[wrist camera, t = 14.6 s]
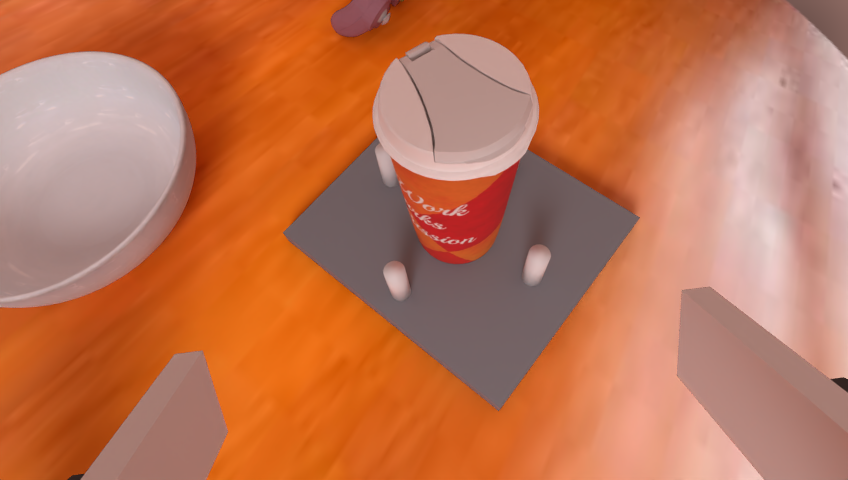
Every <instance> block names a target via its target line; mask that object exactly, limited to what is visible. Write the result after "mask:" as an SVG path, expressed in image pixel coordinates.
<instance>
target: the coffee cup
mask: <svg viewBox="0 0 848 480" xmlns="http://www.w3.org/2000/svg"><path fill="white" fill-rule="evenodd" d="M538 119H539V104H538V98H537V95H536V92H535V89H534V87H533V85H532V83H531V81H530V78H529V75H528V73H527V71H526V69H525V68H524V66H523V64H522V63H521V62H520V61H519V59H518V58H517V57H516V56H515V55H514V54H513V53H512V52H510V51H509V50H508V49H507V48H505V47H503V46H502V45H500V44H499V43H496V42H494V41H492V40H490V39H487V38H483V37H480V36H475V35H469V34H446V35H440V36H436V37H435V41H432V42H430V43H427V42H424V43H422V44H420V45H419V46H417V47H415V48H413V49H411V50H409V51H408V52H406V56H404V57H403V58H401V59H399V60H398V59H397V58H396V59H395V60H394V61H393V62H392V63H391V65H390V66H389V68H388V69H387V71H386V72H385V74H384V76H383V79H382V81H381V84H380V88H379V90H378V92H377V95H376V97H375V101H374V106H373V123H374V129H375V132H376V135H377V137H378V140H379V142H380V143H381V145H382V146H383V148H384V150H385V151H386V152H387V153H388V154H389V155H390V157H391V160H392V163H393V166H394V169H395V172H396V175H397V178H398V181H399V184H400V187H401V190H402V193H403V196H404V199H405V202H406V205H407V208H408V211H409V214H410V217H411V220H412V223H413V226H414V229H415V231H416V234H417V236H418V239H419V241H420V243H421V245H422V246H423V248H424V249H425V250H426V251H427V252H428V253H429V254H430V255H431V256H433V257H434V258H436V259H437V260H440V261H442V262H445V263H449V264H465V263H469V262H472V261H475V260H477V259H479V258H480V257H482V256H483V255H484V254H486V253H487V252H488V250H489V249H490V248H491V247H492V245H493V244H494V242H495V239H496V237H497V235H498V232H499V229H500V226H501V223H502V219H503V216H504V213H505V210H506V206H507V203H508V199H509V196H510V193H511V189H512V186H513V182H514V179H515V176H516V172H517V169H518V165H519V162H520V158H521V157H522V156H523V155H524V154H525V153H526V151H527V149H528V147H529V144H530V142H531V140H532V137H533V135H534V133H535V131H536V127H537V123H538Z"/></svg>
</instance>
